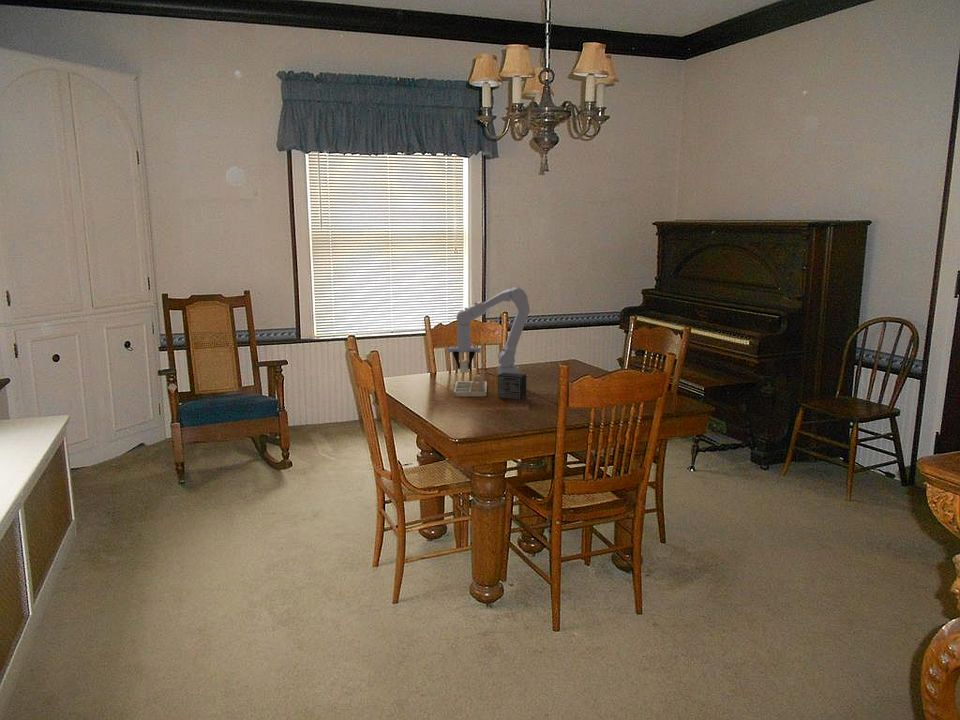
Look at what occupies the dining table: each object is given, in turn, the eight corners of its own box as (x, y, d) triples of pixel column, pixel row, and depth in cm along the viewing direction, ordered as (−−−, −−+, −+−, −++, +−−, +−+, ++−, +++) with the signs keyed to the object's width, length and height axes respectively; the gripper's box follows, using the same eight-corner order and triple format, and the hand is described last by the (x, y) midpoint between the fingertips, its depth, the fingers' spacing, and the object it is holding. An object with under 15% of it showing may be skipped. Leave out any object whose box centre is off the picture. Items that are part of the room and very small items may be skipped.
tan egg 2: (483, 392, 302) (482, 380, 301) (482, 395, 298) (482, 382, 297) (473, 392, 302) (472, 380, 301) (472, 395, 298) (472, 382, 297)
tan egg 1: (483, 385, 315) (483, 374, 314) (483, 388, 311) (483, 376, 310) (473, 386, 315) (473, 374, 314) (473, 388, 311) (473, 376, 310)
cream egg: (469, 370, 318) (469, 359, 317) (468, 372, 314) (468, 360, 313) (459, 370, 318) (459, 359, 317) (459, 372, 314) (459, 360, 313)
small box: (527, 398, 297) (527, 373, 295) (521, 402, 291) (521, 376, 289) (503, 396, 301) (503, 371, 299) (497, 399, 295) (497, 374, 293)
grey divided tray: (486, 387, 316) (486, 381, 316) (486, 398, 297) (486, 391, 296) (456, 387, 317) (455, 381, 316) (453, 398, 297) (453, 392, 297)
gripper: (480, 336, 316) (480, 366, 319) (448, 336, 317) (448, 366, 320) (480, 339, 310) (480, 370, 312) (446, 339, 310) (447, 370, 313)
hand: (464, 368), depth 315 cm, fingers closed on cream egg, 4 cm apart
